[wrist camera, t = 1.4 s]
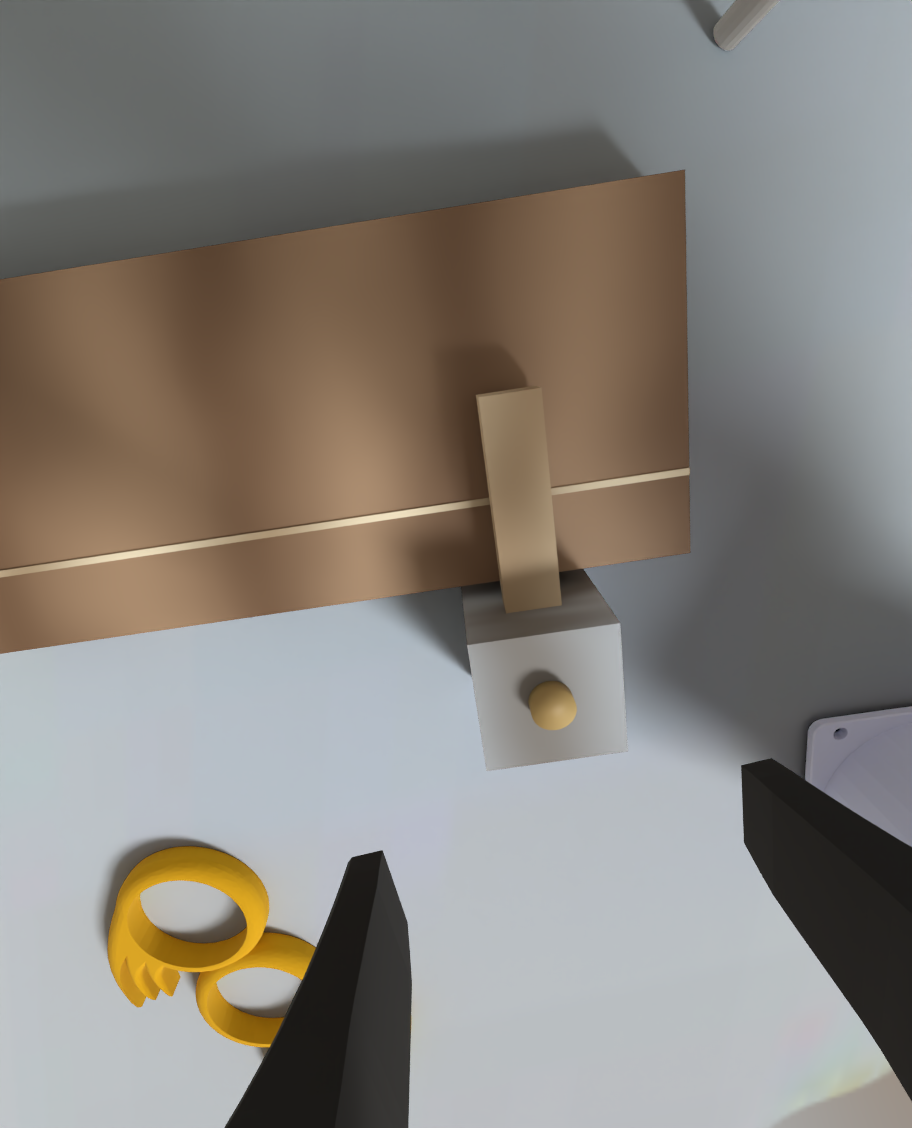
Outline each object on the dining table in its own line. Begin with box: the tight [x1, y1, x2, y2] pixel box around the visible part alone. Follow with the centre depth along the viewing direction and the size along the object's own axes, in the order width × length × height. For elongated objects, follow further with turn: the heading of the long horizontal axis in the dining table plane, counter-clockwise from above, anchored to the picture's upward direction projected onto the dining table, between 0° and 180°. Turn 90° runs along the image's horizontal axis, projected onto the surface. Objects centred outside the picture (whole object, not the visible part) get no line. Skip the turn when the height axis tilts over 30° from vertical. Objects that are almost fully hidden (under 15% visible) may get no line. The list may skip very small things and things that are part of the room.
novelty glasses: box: [107, 846, 316, 1047], centre depth 26 cm, size 17×2×10 cm
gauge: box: [461, 386, 628, 771], centre depth 17 cm, size 4×10×6 cm, turn 8°
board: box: [0, 170, 690, 654], centre depth 17 cm, size 24×10×2 cm, turn 98°
